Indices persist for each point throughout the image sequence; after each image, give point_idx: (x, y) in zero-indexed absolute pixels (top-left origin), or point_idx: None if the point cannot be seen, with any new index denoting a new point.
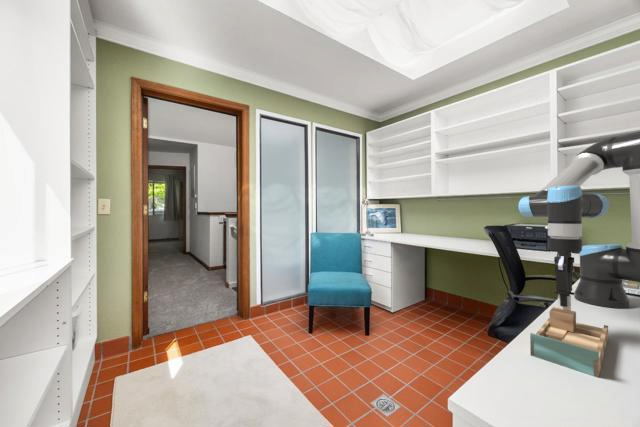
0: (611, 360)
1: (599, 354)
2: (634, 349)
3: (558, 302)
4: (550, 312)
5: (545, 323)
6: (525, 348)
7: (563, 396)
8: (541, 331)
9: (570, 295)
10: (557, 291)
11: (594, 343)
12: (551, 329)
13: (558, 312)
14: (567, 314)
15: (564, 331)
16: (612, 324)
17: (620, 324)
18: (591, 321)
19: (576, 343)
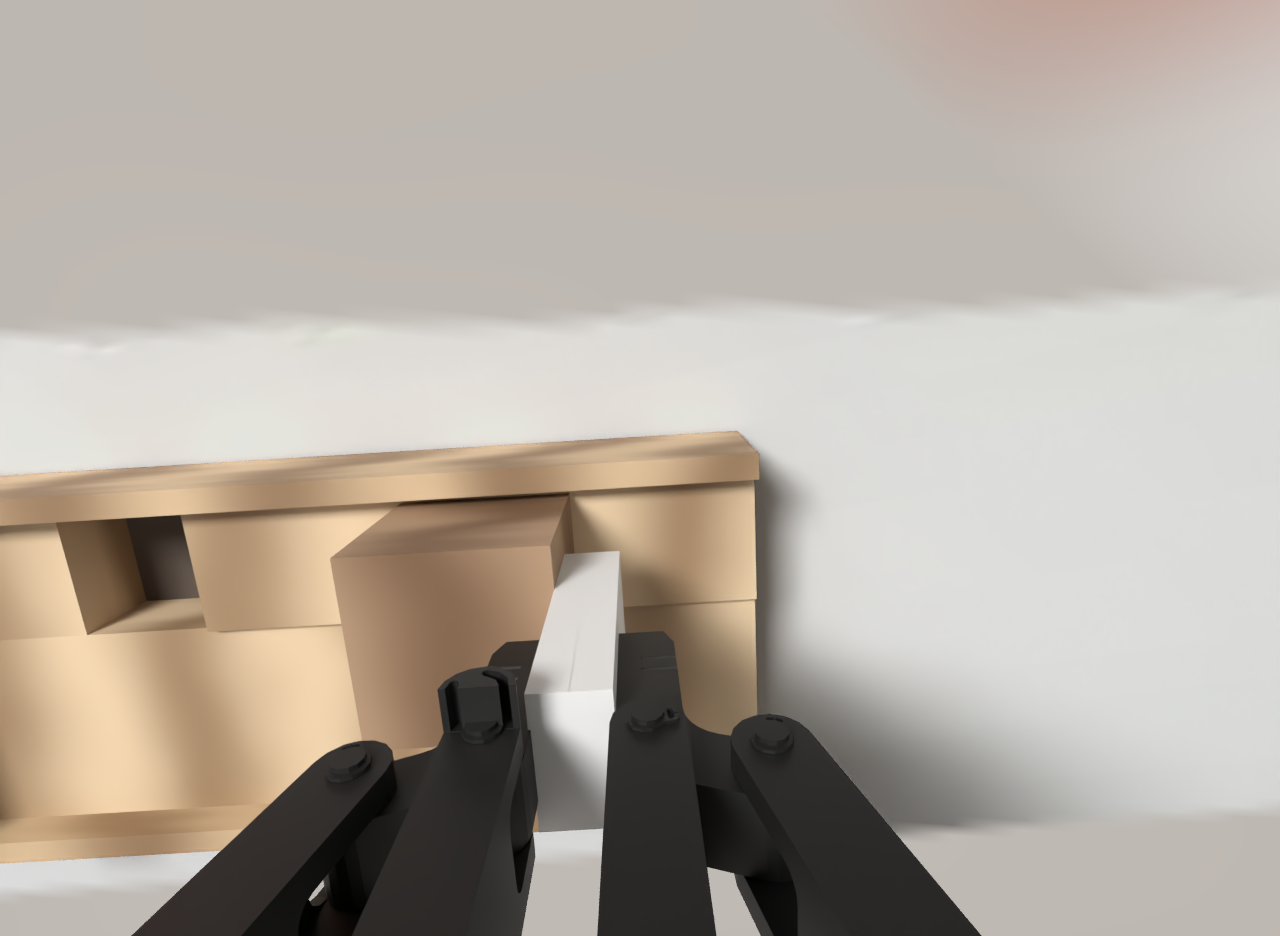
0: None
1: (39, 859)
2: None
3: (542, 630)
4: (339, 560)
5: (359, 484)
6: (39, 418)
7: None
8: (103, 515)
9: (595, 826)
10: (298, 789)
11: None
12: (327, 532)
13: (365, 632)
14: (376, 705)
15: None
16: (1159, 715)
17: (1203, 750)
18: (1127, 607)
19: (219, 703)
